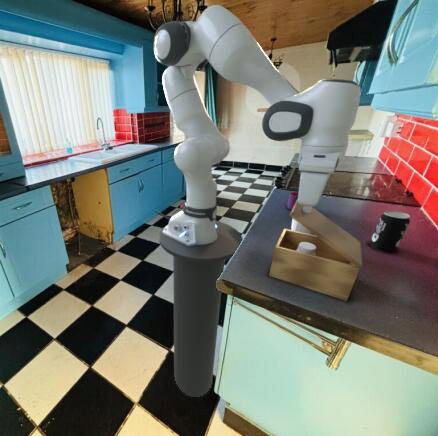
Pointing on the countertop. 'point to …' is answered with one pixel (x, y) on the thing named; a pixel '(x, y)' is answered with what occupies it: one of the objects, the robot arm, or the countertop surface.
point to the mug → (292, 200)
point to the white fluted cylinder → (299, 227)
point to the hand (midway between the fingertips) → (307, 210)
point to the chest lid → (329, 233)
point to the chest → (313, 265)
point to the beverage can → (390, 230)
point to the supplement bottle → (306, 248)
